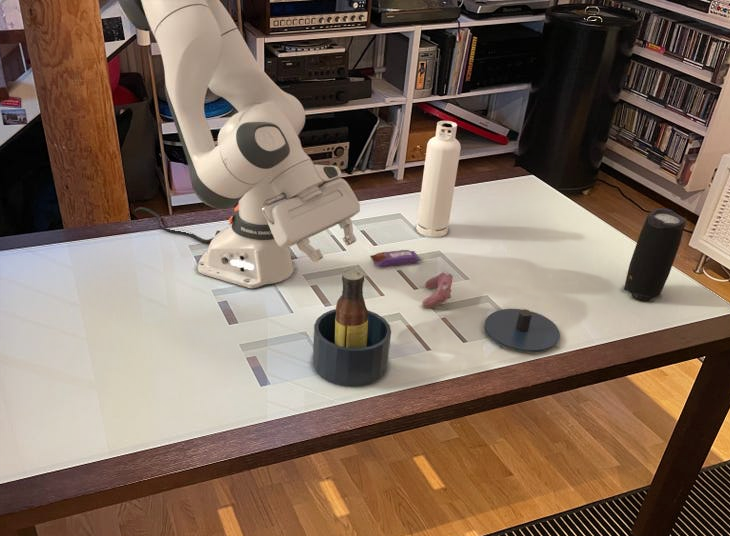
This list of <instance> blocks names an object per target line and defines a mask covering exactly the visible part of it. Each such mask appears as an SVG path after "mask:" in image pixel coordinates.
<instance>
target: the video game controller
mask: <svg viewBox="0 0 730 536" xmlns="http://www.w3.org/2000/svg"><path fill="white" fill-rule="evenodd" d="M453 278H454V276H453V275H452V274H451V273H449V272H446V271H443V272H441V273H439V274H437V275H436V276H433V277H431V278H429V279H427V280H426V281H425V284H424V287H425V288H426V289H427V290H433V289H434V290H435V289H436V291H435V292H434V293H433V294H431V295H430V296H428V297H426V298H425V299H424V300H422V307H423V308H427V309H432V308H435V307H437V306H440V305H441V304H442V303H445V302H446V301H447V300H450V299H451V298H452V295H451V293H452V289H451V287H452V284H453Z"/></svg>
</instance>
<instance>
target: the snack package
mask: <svg viewBox="0 0 730 536" xmlns="http://www.w3.org/2000/svg"><path fill="white" fill-rule="evenodd" d="M369 257H370V258H371V260H372V261H373V263H374V264H375V265H376V266H377V267H379V266H380V267H383V268H384V267H396V266H403V265H404V266H405V265H410V264H414V263H417V262H421V261H422V259H421V257H420V256H419V255H418V254H417V252H415V250H410V249H401V250H400V249H399V250H392V251H383V252H377V253H375V254H372V255H369Z"/></svg>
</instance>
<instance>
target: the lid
mask: <svg viewBox="0 0 730 536" xmlns="http://www.w3.org/2000/svg"><path fill="white" fill-rule="evenodd" d="M483 327H484V331H485V333H486V335H487V336H488V337H489V338H490V339H491V340H492V341H494V342H495V343H496V344H498V345H500V346H502V347H504V348H506V349H509V350H513V351H518V352H523V353H542V352H545V351H549V350H551V349H553V348H554V347H556V346H557V345H558V344H559V341H560V339H561V332H560V329H559V327H558V326H557V325H556V323H554V322H553V321H552V320H551V319H549V318H548V317H546V316H545V315H543V314H540V313H538V312H534V311H532V310H529V309H525V308H524V309H521V308H503V309H497V310H495V311H493V312H492V313H490V314H488V316H487V317H486V318H485V320H484V324H483Z"/></svg>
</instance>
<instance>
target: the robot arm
mask: <svg viewBox="0 0 730 536" xmlns="http://www.w3.org/2000/svg"><path fill="white" fill-rule="evenodd" d="M117 2H118V6H119V8H120V11H121V12H122V15H123V16H124V17H125V18H126V19H127V21H128V22H129V23H130V24H132V25H133V26H134V27H135V28H136V29H137V30H140V31H144V32H150V31H151V33H152V35H153V36H154V39H155V41H156V43H157V47H158V49H159V52H160V55H161V59H162V64H163V70H164V93H165V96H166V97H165V98H166V101H167V104H168V108H169V112H170V115H171V117H172V120H173V123H174V126H175V128H176V132H177V135H178V138H179V140H180V145H181V147H182V149H183V152H184V155H185V159H186V162H187V166H188V173H189V174H188V175H189V179H190V185H191V187H192V189H193V192H194V194H195V195H196V197H197V198H198V199H199V200H200V201H201V202H202V203H204V204H205V205H207V206H208V207H211V208H214V209H219V210H230V209H232V208H233V207H234V206H235V208H233V209H234V211H233V212H232V213H231V215H230V217H229V219H228V226H227V227H225V228H223V229H222V230H216V231H215V235H214V236H213V237H211V238H208V239H204V238H201V237H199V236H197V235H196V234H195V233H192V234H189V233H186V232H181V231H175V230H170V229H171V228H170V229H166V228H164V227H162V226H161V225H160V222H159V219H158V218H161V219H162V220H163V218H162V217H161V216H160V214H158V213H157V212H155V211H153V210H152V209H150V208H147V207H143V206H139V207H137V208H135V209H134V213H139V212H145V213H148V214H150V215H152V217H153V216H154V217H155V218H157V220H158V225H159V227H160V228H161V229H162V230H164V231H166V232H168V233H173V234H180V235H184V236H188V237H190V238H192V239H194V240H196V241H197V242H199V243H202V244H209V245H208V249H207V250H206V251H205V252H204V253H203V254H202V256H201V257H200V259H199V261H198V263H197V271H198V274H201V275H204V276H208V277H210V278H214V279H217V280H221V281H223V282H227V283H231V284H234V285H238V286H240V287H244V288H247V289H257V288H259V287H262V286H265V285H271V284H276V283H280V282H282V281H283V282H284V281H285V280H287V279H289V278H290V277H291V276H292V275H293V273H294V271H295V268H294V264H293V260H292V257H291V250H290V247H292V246H295V245H296V247H297V248H298V250H300V251H301V252H303V253H304V254H305V255H307V256H308V257H309V259H310V261H311V263H313V264H315V263H317V262H319V261H321V260H323V258H324V255H323V253H322V251H321V250H320V248H317V249H316V248H315V247H313V246H312V245H311V244H310V243H311V240H310V239H309V238H311V237H314V236H316V235H317V234H320V233H322V232H324V231H326V230H329V229H330V228H333V227H335V226H337V225H338V226H339V227H340V229H343V235H344V236H343V237H342V241H343V242H344V244H345V246H351V245H352V244H354V243H356V242H357V238H356V235H355V234H354V227H353V226H354V225H353V220H352V219H351V218H353V217H354V216H356V215H357V214H359V213H360V211H361V204H360V202H359V200H358V198H357V196H356V194H355V192H354V191H353V189H352V188H351V186H350V184H349V183H348V181H346V180H345V179H344V178H341V176H342V171H341V169H340V168H339V166H337V165H323V164H314V162H313V160H312V159H311V157H310V156H309V155H308V154H307V153H306V152H305V150H304V149H303V146H302V143H301V139H300V137H299V135H300V133H301V131H302V130H303V129H304V126H305V124H306V111H305V109H304V106H303V104H302V103H301V102H300V100H299V99H298V98H297V97H295V96H294V95H292V94H291V93H288V92H286V91H284V90H283V89H281V88H280V87H279V85H277V84H276V83H275V82H274V81H273V80H272V79H271V78H270V76H269V75H268V74H267V73H266V71H264V70H263V68H262V67H261V66H260V64H259V63H258V62H257V60H256V58H255V56H254V55H253V53H252V51H251V49H250V48H249V46H248V44H247V43H246V40H245V39H244V37H243V35H242V34H241V31H240V30H239V28H238V26H237V25H236V23H235V21H234V19H233V18H232V16H231V14H230V13H229V12H228V10H227V8H226V7H225V6H224V4H223V3H222V2H221V1H220V0H117ZM208 90H210V92H211V93H213V94H214V95H216V96H218V97H220V98H223V99H224V100H226V101H227V102H228V103H229V104H230V105H231V106H232V107H233V108H235V110H236V111H237V112H236V113H235V114H233V115H231V117H230V118H229V119H228V120H227V121H226V122H225V123H224V125H223V126H222V127H221V128H220V130H219V133H218V135H217V145H216V144H215V141H214V137H213V134H212V131H211V129H210V125H209V123H208V120H207V117H206V114H205V113H206V112H205V100H206V99H205V98H206V95H207V91H208Z"/></svg>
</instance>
